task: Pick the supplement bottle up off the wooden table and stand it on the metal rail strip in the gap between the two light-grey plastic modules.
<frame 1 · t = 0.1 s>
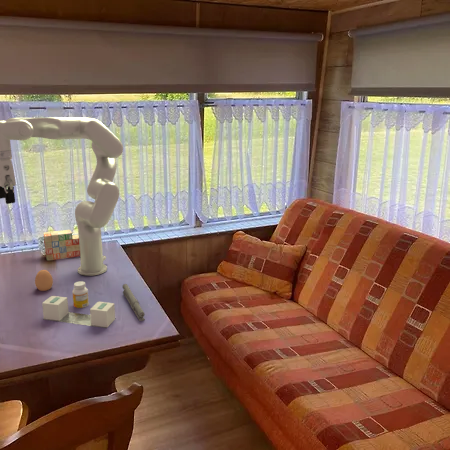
hand: (6, 200, 173), 37 cm above the table, tool pointing down, fingers open, 9 cm apart
stack of blocks: (69, 256, 223), on the table
module b: (103, 321, 159), resting on rail
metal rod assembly: (133, 309, 172), on the table
supplement bottle: (81, 307, 172), on the table
module a: (56, 315, 163), resting on rail
rail: (79, 321, 162), on the table
egg: (45, 291, 185), on the table
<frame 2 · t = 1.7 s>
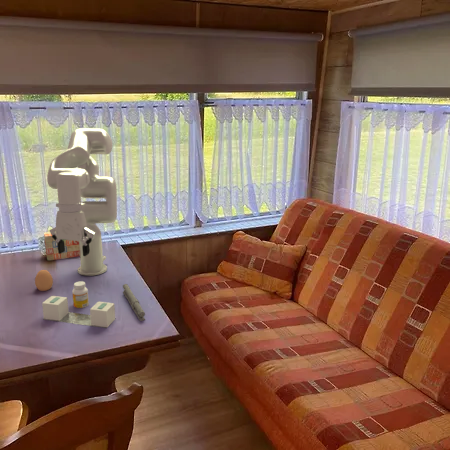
hand: (73, 253, 166), 21 cm above the table, tool pointing down, fingers open, 9 cm apart
nothing on the table moved.
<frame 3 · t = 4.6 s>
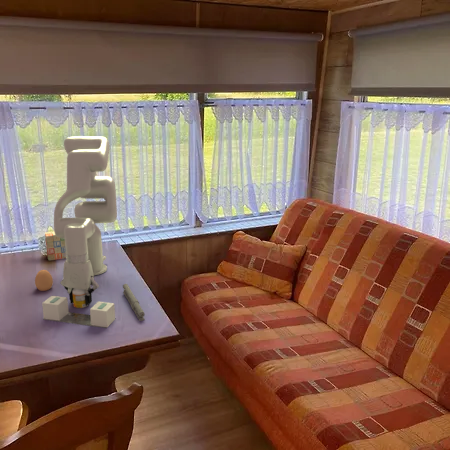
hand: (80, 302, 171), 2 cm above the table, tool pointing down, fingers closed on supplement bottle, 5 cm apart
supplement bottle: (81, 307, 172), on the table, touching gripper
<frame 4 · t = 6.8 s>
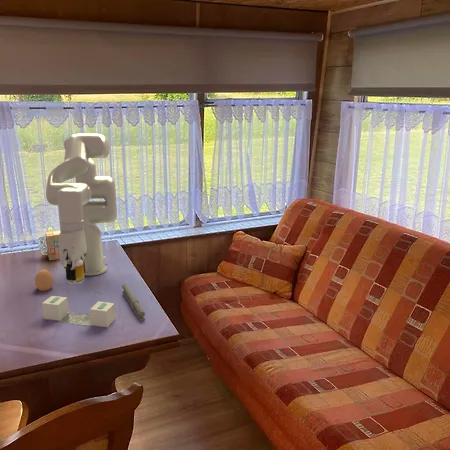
hand: (76, 275, 157), 17 cm above the table, tool pointing down, fingers closed on supplement bottle, 5 cm apart
supplement bottle: (76, 281, 157), point 15 cm above the table, touching gripper
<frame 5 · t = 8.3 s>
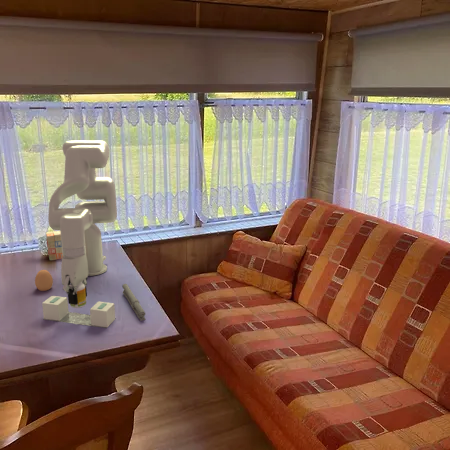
hand: (78, 299, 159), 9 cm above the table, tool pointing down, fingers closed on supplement bottle, 5 cm apart
supplement bottle: (78, 305, 160), point 6 cm above the table, touching gripper
when the fingers open (5 cm above the table, at t = 9.8 s): supplement bottle drops 2 cm, resting on rail.
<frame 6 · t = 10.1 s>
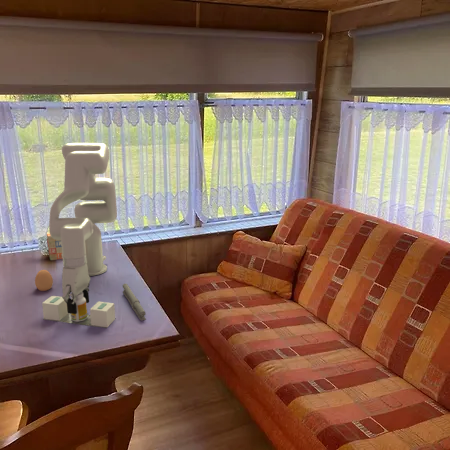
hand: (78, 307, 160), 6 cm above the table, tool pointing down, fingers open, 7 cm apart
supplement bottle: (79, 318, 162), point 1 cm above the table, touching rail
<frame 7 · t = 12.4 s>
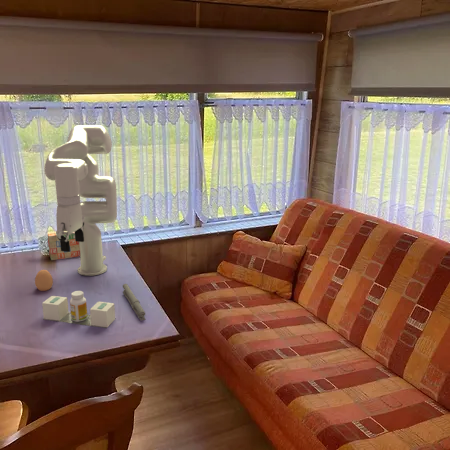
hand: (72, 246, 164), 25 cm above the table, tool pointing down, fingers open, 9 cm apart
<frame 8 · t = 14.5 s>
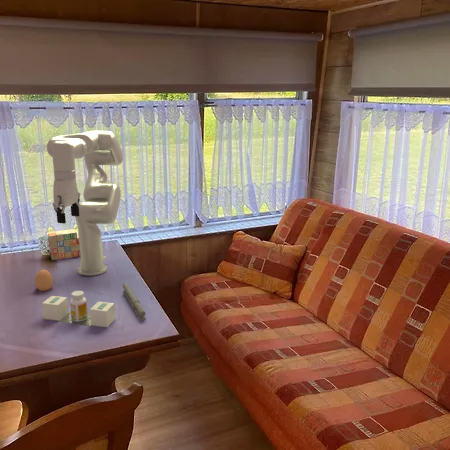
hand: (68, 219, 175), 30 cm above the table, tool pointing down, fingers open, 9 cm apart
at the end: supplement bottle inside the target area on the rail (0.3 cm from its centre), point 1.0 cm above the rail's base; supplement bottle touching rail; supplement bottle tilted 0° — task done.
